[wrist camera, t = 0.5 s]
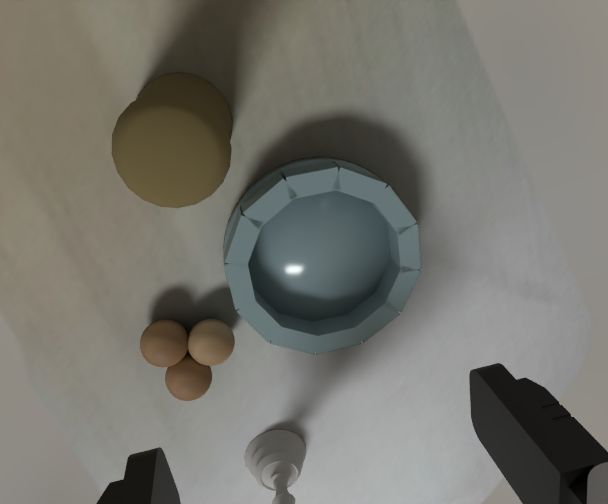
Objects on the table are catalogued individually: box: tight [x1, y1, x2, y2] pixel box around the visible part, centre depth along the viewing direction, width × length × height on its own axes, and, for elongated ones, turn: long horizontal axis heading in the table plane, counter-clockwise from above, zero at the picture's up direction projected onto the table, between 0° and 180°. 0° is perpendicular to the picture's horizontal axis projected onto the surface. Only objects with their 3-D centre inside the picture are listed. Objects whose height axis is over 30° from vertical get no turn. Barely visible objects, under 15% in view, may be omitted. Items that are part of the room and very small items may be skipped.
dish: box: [223, 157, 421, 354], centre depth 35 cm, size 13×13×3 cm
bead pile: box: [140, 319, 235, 401], centre depth 36 cm, size 6×6×3 cm
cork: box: [112, 72, 232, 208], centre depth 27 cm, size 6×6×11 cm
